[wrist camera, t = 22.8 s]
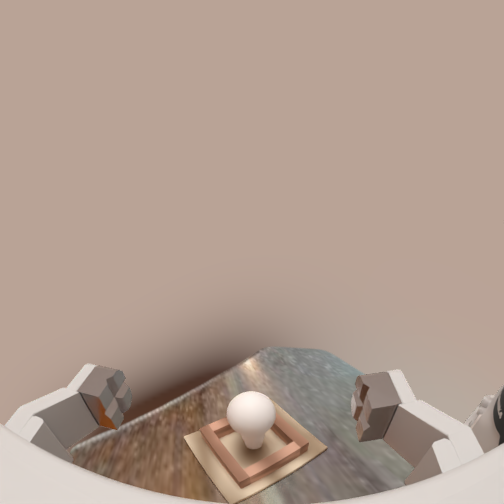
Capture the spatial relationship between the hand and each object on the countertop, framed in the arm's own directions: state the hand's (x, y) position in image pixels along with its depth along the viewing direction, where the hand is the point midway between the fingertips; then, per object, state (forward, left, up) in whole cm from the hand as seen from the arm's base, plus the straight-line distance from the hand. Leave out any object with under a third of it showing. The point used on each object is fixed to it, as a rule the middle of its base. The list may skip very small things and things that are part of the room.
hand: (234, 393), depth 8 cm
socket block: (-8, -14, -30) cm, 34 cm away
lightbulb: (-9, -14, -30) cm, 34 cm away
